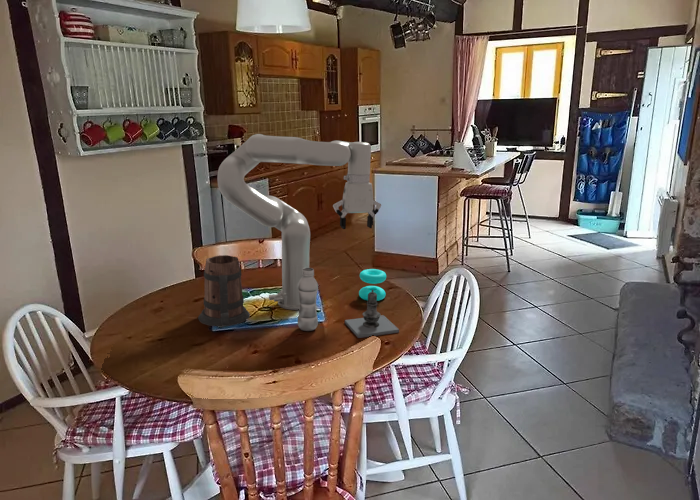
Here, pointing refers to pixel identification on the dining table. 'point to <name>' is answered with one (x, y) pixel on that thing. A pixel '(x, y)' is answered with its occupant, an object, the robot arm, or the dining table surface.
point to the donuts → (373, 278)
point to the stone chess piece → (371, 311)
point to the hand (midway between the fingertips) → (356, 227)
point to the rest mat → (363, 331)
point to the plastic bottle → (307, 300)
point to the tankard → (223, 292)
